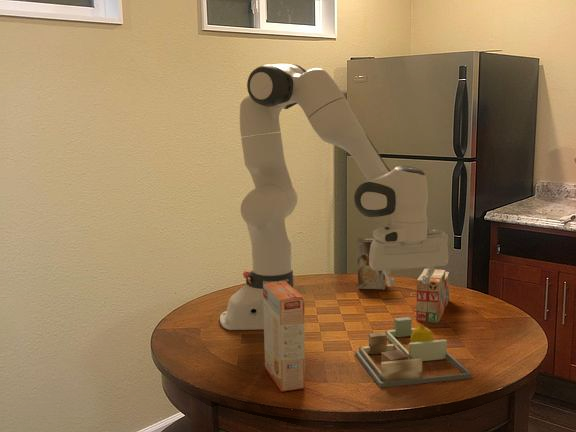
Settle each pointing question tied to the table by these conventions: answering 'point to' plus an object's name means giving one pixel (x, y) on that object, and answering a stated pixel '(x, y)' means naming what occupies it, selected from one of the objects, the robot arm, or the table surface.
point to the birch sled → (390, 368)
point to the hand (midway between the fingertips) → (408, 284)
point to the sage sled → (416, 349)
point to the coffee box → (368, 267)
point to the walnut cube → (393, 356)
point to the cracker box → (284, 335)
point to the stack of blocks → (432, 296)
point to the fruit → (421, 334)
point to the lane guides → (464, 375)
